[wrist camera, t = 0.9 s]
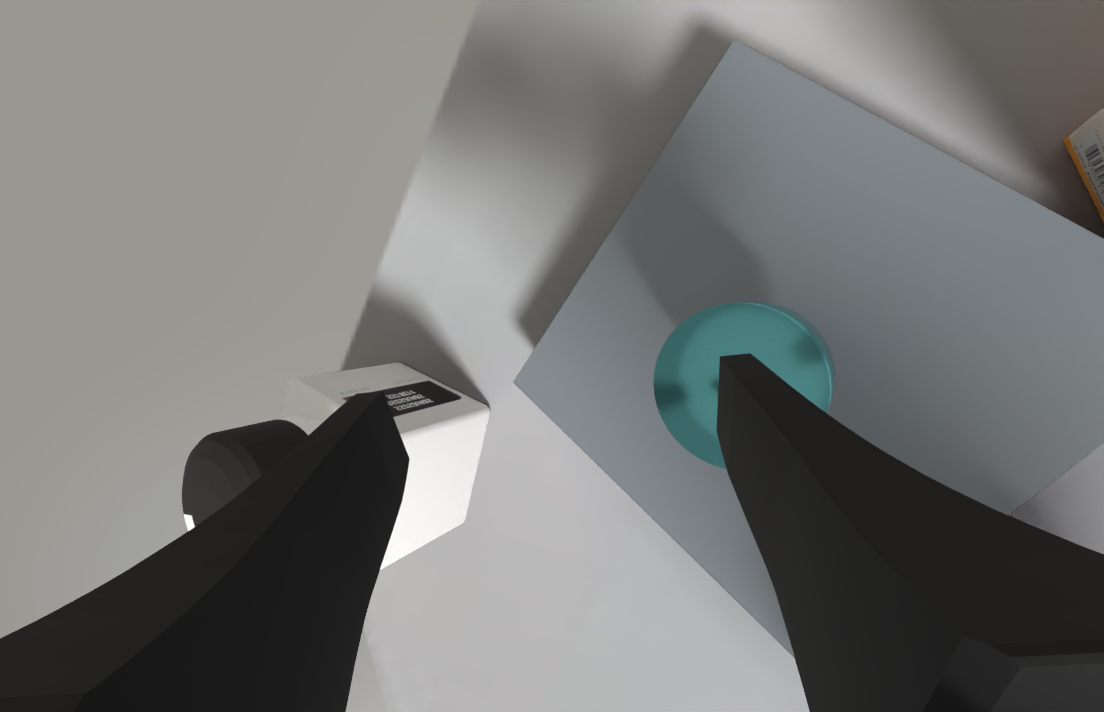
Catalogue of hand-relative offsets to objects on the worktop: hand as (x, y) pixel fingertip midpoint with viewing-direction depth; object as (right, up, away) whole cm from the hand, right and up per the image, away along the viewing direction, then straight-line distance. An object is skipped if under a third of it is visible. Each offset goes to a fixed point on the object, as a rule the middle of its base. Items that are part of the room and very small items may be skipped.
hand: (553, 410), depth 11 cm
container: (-7, -4, +21) cm, 23 cm away
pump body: (+10, +1, +10) cm, 14 cm away
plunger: (+8, +1, +8) cm, 11 cm away
